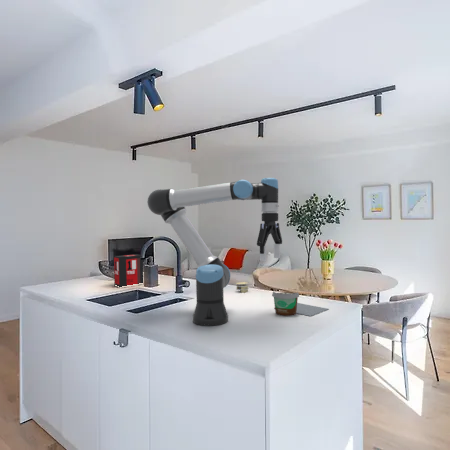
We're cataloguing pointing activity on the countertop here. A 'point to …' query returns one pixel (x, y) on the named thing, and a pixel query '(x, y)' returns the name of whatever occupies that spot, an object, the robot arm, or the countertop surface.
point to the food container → (285, 303)
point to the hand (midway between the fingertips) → (270, 259)
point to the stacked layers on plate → (242, 287)
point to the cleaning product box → (128, 270)
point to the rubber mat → (308, 309)
